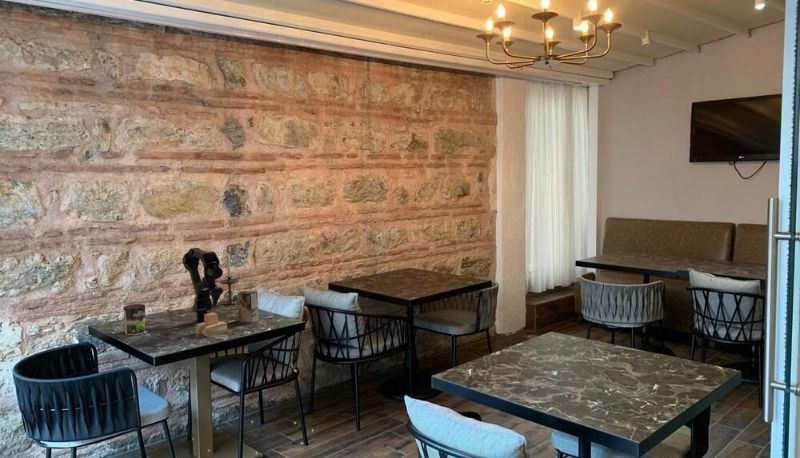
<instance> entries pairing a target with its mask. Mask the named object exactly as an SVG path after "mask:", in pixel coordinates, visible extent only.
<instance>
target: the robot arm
mask: <svg viewBox="0 0 800 458" xmlns="http://www.w3.org/2000/svg"><path fill="white" fill-rule="evenodd" d="M181 261H182V265H183V267H184V269H186V271H188V272H189V276H190V279H191V283H192V286H193V290H194V293H195V297H194V303H193V305H192V307H191V308H192V309H191V310H192V312H193V313H196V320H194V322H195V323H196V324H199V323H203V322H204V314H208V311H211V309H212V305H213V307H216V306H217V304H218V301H219V300H220V297H221V295H222V294H224V288H222V287H220V286H218V284H216V280H218V279H220V278H222V276H223V273H224V271H223V269H222V268H221V267H220V266H221V265H220V262H221V261H220V259H219V257H218V255H217V253H216V252H215V251H205V250H204V249H200V248H199V247H193V248H192V247H191V248H190V249H188V251H187V252H186V253H184V254H183V256H182V259H181ZM200 262H201V263H202V267H203V277H202V278H201V274H200V271H199V266H200Z"/></svg>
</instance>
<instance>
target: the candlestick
mask: <svg viewBox="0 0 800 458" xmlns="http://www.w3.org/2000/svg"><path fill="white" fill-rule="evenodd" d="M226 252H227V253H226V270H227V276H226V278H227V279H222V280H220V282H219V284H220V285H227V287H228V291H227V294H228V295H227V296H228V299H227V300H225V301H223V302H222V305H223V306H234V305H237V304H238V300H233V299H232V296H233V295H232V293H233V291H232V286H231V285H234V284H237V283H239V279H236V278H235V279H233V278H232V277H233V276H232V274H231V257H230V256H231V255H230V253H229V249H228V248H227V249H226Z"/></svg>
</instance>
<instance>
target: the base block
mask: <svg viewBox="0 0 800 458" xmlns="http://www.w3.org/2000/svg"><path fill="white" fill-rule="evenodd" d="M227 332H228V323H227V322H224V321H221V320H218V324H214V325H206V324H205V322H203V323H196V324H195V334H197V335H200V334H201V336H205V337H207V338H209V337H214V336H217V335H220V334H224V333H227Z"/></svg>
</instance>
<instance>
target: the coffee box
mask: <svg viewBox="0 0 800 458" xmlns="http://www.w3.org/2000/svg"><path fill="white" fill-rule="evenodd" d="M258 299H259V296H258V291H253V290H250V291H249V290H242V291H240V292H237V301H238V305H237V306H238V320H239V322H243V323H255V322H257V321H259V319H260V318H259V317H260V316H259V303H258V302H259V300H258Z"/></svg>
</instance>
